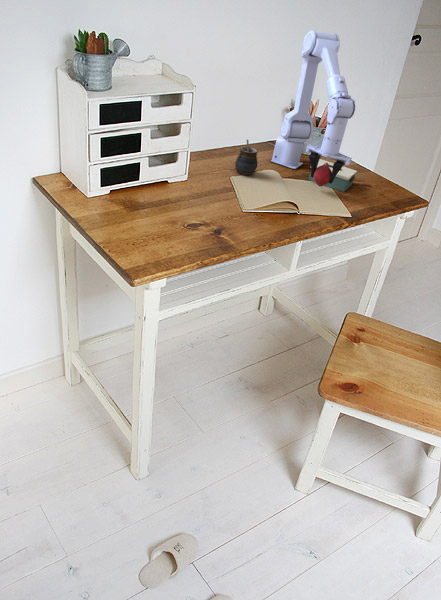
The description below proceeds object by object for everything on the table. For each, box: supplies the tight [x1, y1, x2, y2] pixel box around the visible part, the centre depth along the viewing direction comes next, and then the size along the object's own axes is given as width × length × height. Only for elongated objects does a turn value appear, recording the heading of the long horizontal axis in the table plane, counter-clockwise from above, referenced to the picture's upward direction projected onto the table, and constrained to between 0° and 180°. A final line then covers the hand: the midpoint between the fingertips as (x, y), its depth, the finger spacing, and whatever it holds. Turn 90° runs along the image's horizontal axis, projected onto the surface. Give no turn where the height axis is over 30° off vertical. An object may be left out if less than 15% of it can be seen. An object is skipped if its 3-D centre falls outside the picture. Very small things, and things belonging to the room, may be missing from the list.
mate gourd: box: [234, 139, 258, 176], centre depth 182 cm, size 7×8×10 cm
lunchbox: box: [307, 158, 358, 193], centre depth 189 cm, size 14×10×6 cm, turn 61°
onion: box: [313, 163, 332, 188], centre depth 178 cm, size 6×6×8 cm
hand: (321, 179), depth 179 cm, fingers closed on onion, 6 cm apart
